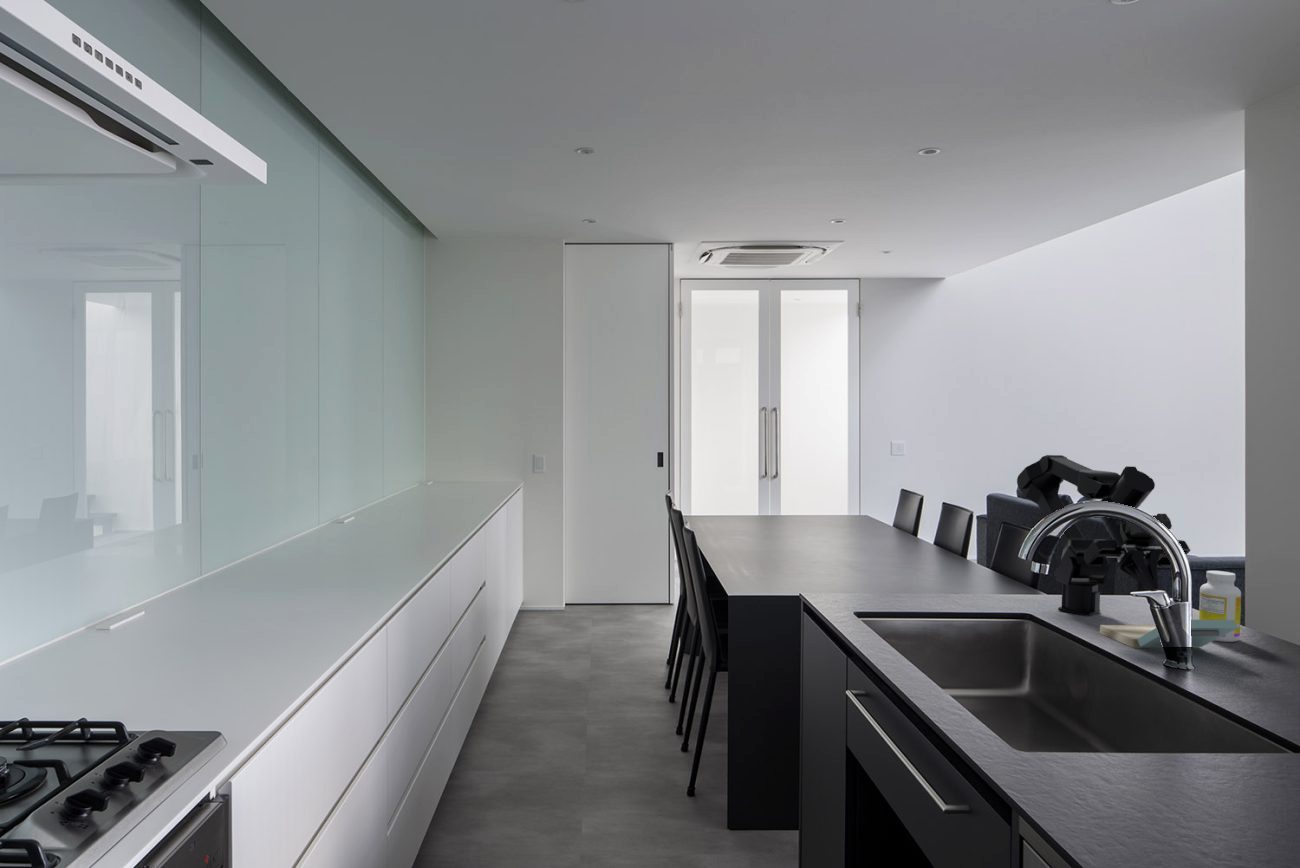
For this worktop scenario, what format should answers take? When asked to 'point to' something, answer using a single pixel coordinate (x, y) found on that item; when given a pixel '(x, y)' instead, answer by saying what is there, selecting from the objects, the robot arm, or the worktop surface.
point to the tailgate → (1194, 633)
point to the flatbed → (1127, 633)
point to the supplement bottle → (1221, 601)
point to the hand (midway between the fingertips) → (1155, 590)
